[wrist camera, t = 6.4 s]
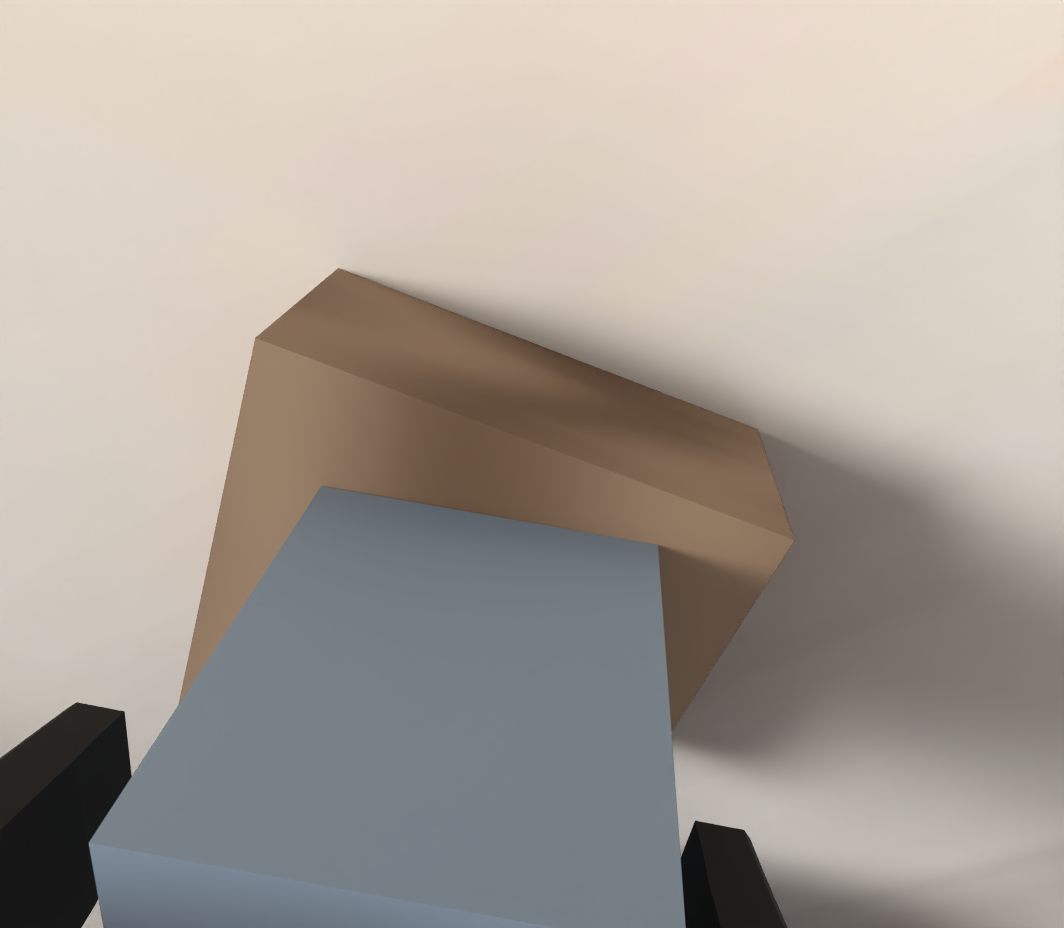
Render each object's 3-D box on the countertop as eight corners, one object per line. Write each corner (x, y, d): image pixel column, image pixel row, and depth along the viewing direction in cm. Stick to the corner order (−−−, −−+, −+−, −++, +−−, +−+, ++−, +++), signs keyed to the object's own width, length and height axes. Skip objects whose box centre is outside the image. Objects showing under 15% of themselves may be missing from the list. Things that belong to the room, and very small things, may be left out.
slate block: (658, 544, 12) (687, 951, 7) (596, 779, 14) (582, 1216, 9) (321, 485, 12) (88, 843, 7) (315, 729, 14) (140, 1133, 9)
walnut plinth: (754, 421, 15) (794, 539, 12) (591, 711, 19) (584, 867, 15) (343, 263, 15) (255, 337, 11) (259, 596, 18) (173, 730, 15)
